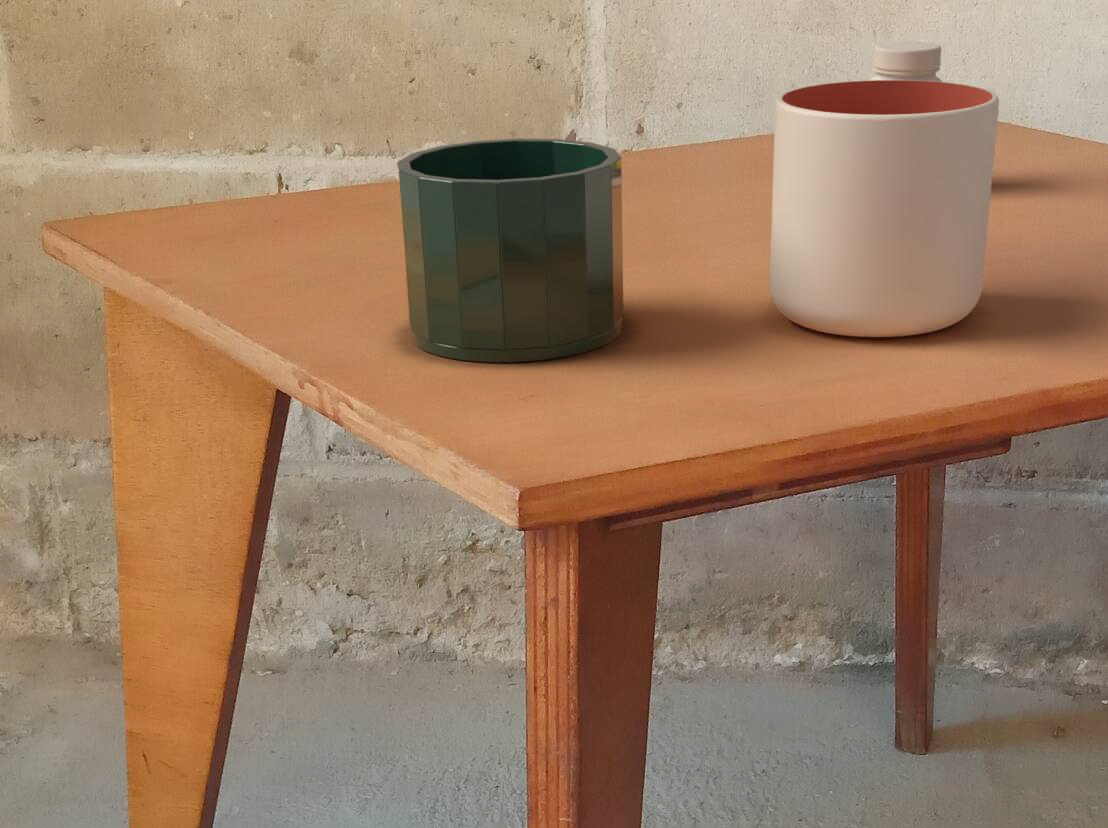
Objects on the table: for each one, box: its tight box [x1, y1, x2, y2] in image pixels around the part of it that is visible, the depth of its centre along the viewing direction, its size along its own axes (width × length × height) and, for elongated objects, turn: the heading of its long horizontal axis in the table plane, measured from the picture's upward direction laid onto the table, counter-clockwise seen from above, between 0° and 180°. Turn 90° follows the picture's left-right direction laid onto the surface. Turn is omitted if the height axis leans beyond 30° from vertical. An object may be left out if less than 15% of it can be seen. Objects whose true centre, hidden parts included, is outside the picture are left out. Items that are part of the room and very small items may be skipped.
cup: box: [769, 79, 1000, 338], centre depth 80 cm, size 10×10×10 cm
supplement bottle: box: [869, 41, 943, 82], centre depth 104 cm, size 5×5×8 cm
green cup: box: [396, 138, 624, 363], centre depth 80 cm, size 10×10×8 cm
